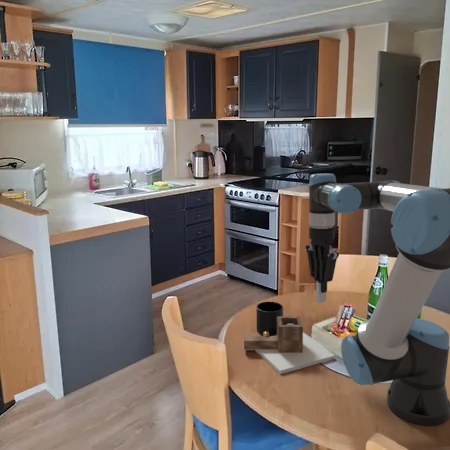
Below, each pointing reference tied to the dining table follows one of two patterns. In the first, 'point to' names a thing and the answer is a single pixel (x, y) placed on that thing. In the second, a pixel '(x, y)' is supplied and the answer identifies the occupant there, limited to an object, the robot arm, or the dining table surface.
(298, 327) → the brown wooden bracket
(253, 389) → the dining table surface
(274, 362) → the post board
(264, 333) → the dowel pin
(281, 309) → the mug
